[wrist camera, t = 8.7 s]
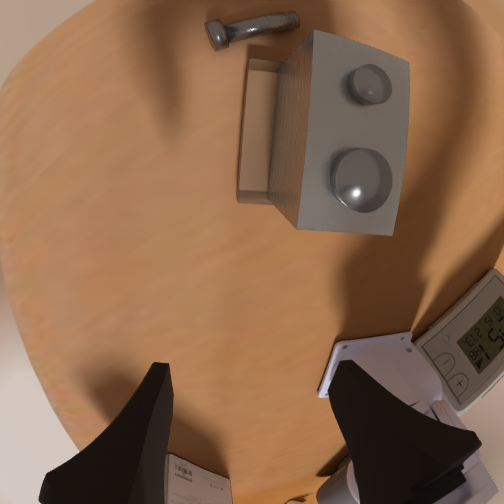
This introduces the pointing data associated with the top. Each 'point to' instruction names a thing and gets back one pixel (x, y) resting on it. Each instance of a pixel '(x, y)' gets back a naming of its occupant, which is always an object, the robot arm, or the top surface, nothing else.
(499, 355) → the digital clock
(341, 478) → the bluetooth speaker
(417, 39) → the top surface
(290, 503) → the seated beast figurine
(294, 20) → the loose bolt
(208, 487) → the hard drive box
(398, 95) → the housing
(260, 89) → the stand
